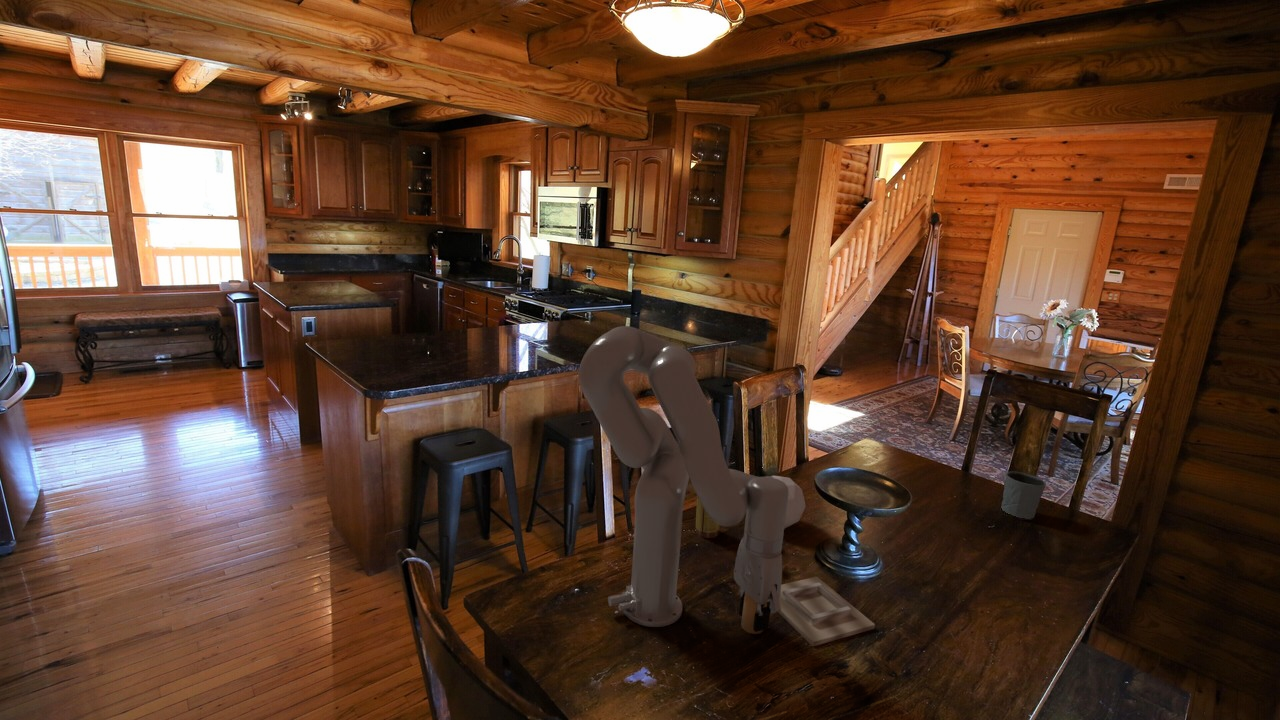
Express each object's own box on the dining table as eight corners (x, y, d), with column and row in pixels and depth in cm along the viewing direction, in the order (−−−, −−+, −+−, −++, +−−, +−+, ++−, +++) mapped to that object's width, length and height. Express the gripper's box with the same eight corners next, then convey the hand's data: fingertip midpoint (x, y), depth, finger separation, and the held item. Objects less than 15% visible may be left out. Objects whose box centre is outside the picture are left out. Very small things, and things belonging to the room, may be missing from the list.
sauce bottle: (722, 532, 157) (729, 462, 153) (712, 542, 152) (719, 470, 148) (700, 524, 161) (706, 456, 156) (689, 534, 156) (696, 463, 151)
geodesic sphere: (738, 526, 161) (743, 477, 158) (756, 507, 173) (762, 461, 170) (791, 544, 154) (798, 493, 151) (807, 523, 166) (814, 475, 163)
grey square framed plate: (812, 646, 116) (814, 634, 115) (759, 593, 132) (760, 583, 131) (874, 628, 122) (876, 617, 122) (816, 580, 138) (817, 570, 138)
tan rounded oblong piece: (750, 636, 118) (754, 600, 116) (736, 622, 121) (740, 587, 120) (768, 630, 120) (772, 595, 118) (754, 617, 123) (758, 583, 122)
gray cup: (990, 507, 184) (998, 470, 181) (1020, 507, 185) (1028, 471, 182) (1014, 523, 174) (1022, 485, 171) (1045, 523, 175) (1054, 485, 173)
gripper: (723, 522, 122) (715, 600, 126) (773, 566, 107) (762, 653, 111) (754, 517, 125) (745, 594, 129) (806, 559, 110) (794, 644, 114)
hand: (753, 620), depth 120 cm, fingers closed on tan rounded oblong piece, 4 cm apart
